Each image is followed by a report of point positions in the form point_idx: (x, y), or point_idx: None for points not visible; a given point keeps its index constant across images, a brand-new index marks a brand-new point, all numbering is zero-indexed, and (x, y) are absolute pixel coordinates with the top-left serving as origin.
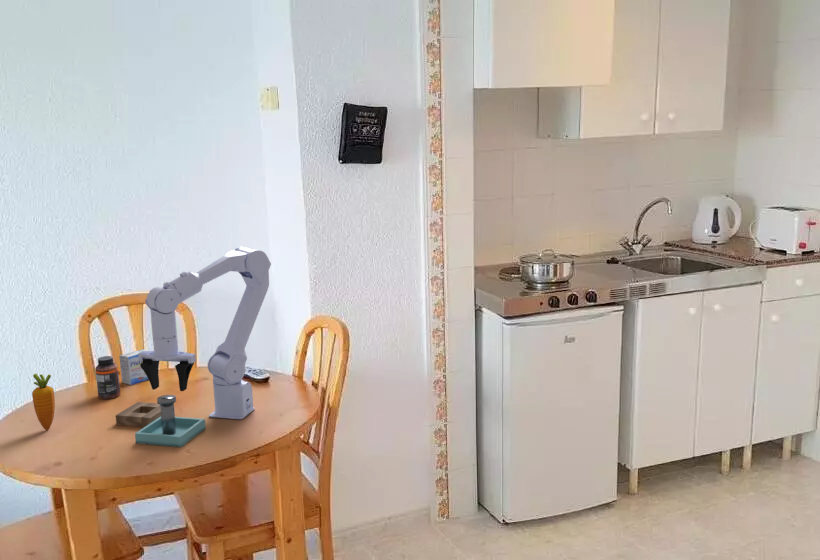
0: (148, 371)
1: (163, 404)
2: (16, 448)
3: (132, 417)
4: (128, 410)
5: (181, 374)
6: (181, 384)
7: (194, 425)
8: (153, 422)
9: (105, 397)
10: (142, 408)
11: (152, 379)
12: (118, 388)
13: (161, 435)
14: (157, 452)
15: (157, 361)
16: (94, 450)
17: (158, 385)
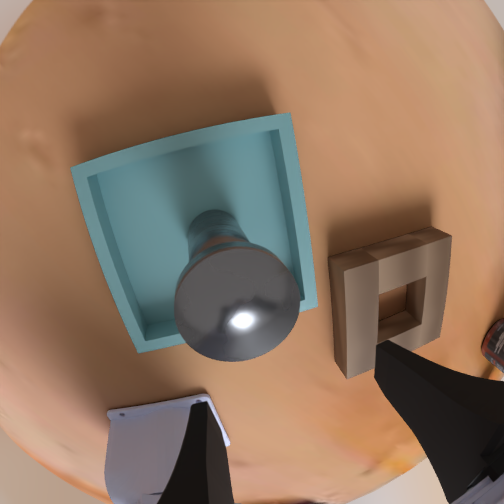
0: (469, 399)
1: (209, 247)
2: (498, 35)
3: (404, 250)
4: (437, 282)
5: (172, 502)
6: (188, 436)
7: (116, 291)
8: (302, 241)
9: (498, 324)
10: (414, 321)
11: (416, 378)
12: (491, 355)
13: (157, 140)
14: (131, 85)
15: (452, 486)
16: (360, 30)
17: (378, 381)
